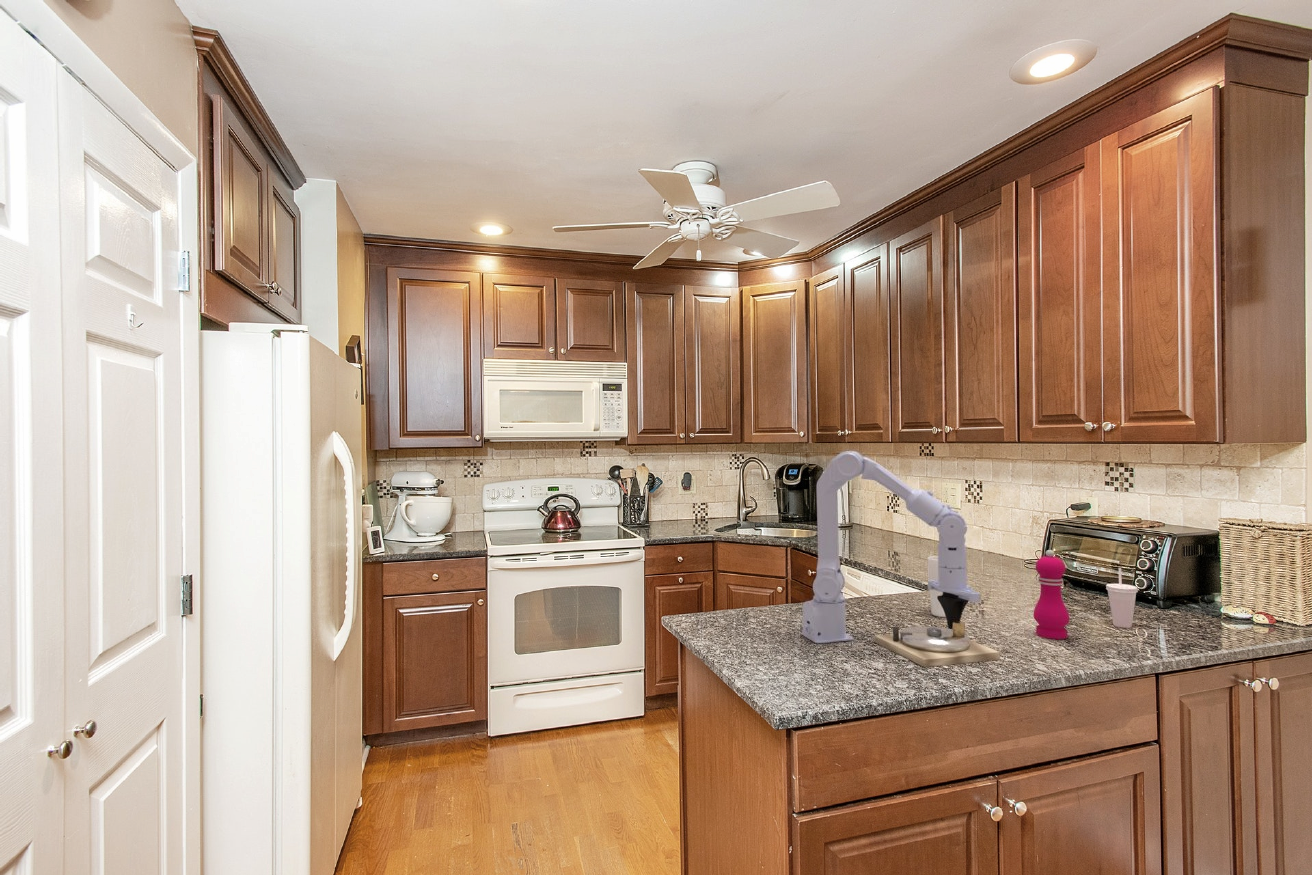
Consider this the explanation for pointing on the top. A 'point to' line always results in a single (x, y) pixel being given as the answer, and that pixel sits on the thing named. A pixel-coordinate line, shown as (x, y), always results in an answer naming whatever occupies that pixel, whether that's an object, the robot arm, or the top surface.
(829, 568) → the robot arm
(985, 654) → the base plate
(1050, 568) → the pepper mill
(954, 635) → the flange disc
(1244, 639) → the top surface
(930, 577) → the drinking glass
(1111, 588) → the smoothie
